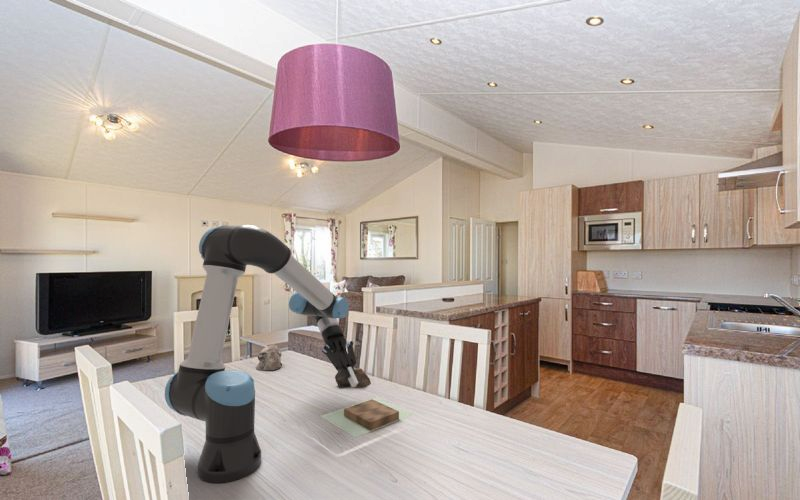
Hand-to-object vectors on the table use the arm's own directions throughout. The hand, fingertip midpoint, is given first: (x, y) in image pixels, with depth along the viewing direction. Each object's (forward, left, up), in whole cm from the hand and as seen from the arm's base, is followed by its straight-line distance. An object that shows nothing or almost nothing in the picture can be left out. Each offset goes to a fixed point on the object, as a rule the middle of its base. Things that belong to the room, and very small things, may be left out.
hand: (355, 385), depth 135 cm
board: (-1, -3, -7) cm, 7 cm away
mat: (-1, -7, -9) cm, 11 cm away
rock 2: (+15, +21, -9) cm, 27 cm away
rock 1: (-1, +69, -9) cm, 69 cm away
